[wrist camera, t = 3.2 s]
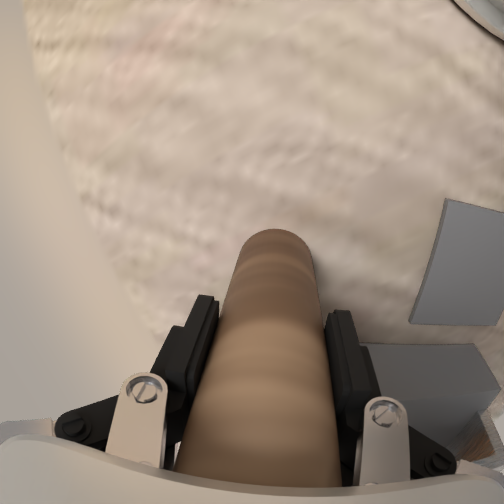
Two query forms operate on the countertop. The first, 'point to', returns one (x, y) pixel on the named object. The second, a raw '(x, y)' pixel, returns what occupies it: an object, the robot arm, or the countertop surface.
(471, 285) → the pad
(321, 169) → the countertop surface
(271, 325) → the brown rod
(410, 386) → the box
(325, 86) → the countertop surface
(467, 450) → the frame
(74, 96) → the countertop surface
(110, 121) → the countertop surface
